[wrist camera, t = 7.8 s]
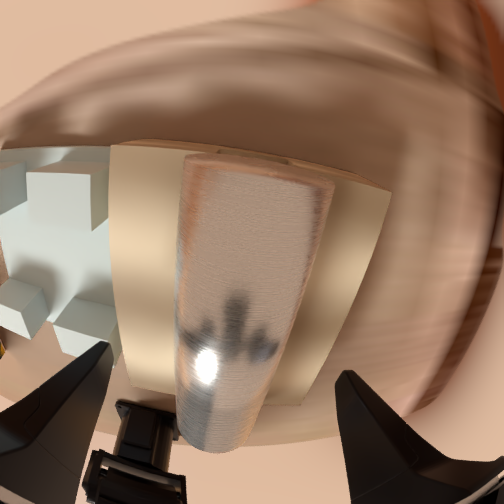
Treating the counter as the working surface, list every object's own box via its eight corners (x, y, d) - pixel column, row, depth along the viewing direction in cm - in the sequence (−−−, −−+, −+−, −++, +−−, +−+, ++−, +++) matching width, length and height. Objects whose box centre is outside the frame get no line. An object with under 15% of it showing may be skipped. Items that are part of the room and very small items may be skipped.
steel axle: (249, 396, 16) (253, 454, 12) (181, 389, 15) (173, 448, 11) (312, 169, 10) (360, 200, 6) (196, 149, 9) (167, 166, 5)
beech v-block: (292, 362, 19) (300, 405, 16) (145, 343, 18) (130, 385, 14) (355, 173, 13) (392, 192, 10) (145, 138, 12) (111, 144, 8)
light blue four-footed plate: (132, 336, 18) (116, 375, 14) (24, 304, 17) (1, 331, 13) (127, 146, 12) (91, 156, 9) (0, 149, 11) (-38, 161, 8)
